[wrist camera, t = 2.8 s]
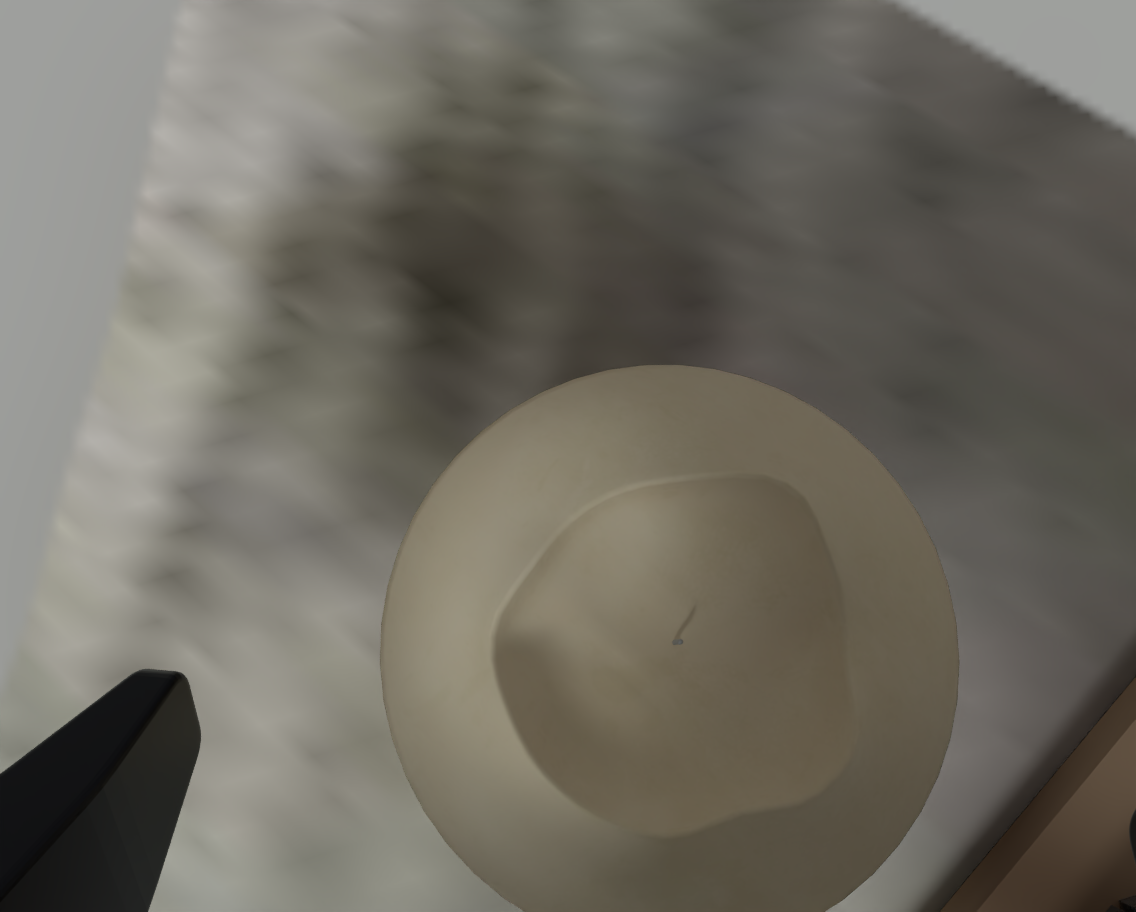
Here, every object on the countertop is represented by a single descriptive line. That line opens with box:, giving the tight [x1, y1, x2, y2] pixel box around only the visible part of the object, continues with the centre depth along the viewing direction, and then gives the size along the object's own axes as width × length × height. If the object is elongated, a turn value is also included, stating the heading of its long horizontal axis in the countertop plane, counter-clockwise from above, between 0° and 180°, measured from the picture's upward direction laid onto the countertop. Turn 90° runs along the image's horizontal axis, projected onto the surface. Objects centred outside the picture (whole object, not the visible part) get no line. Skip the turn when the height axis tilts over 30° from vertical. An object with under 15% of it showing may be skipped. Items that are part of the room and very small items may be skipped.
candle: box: [380, 365, 959, 912], centre depth 12 cm, size 6×6×10 cm
